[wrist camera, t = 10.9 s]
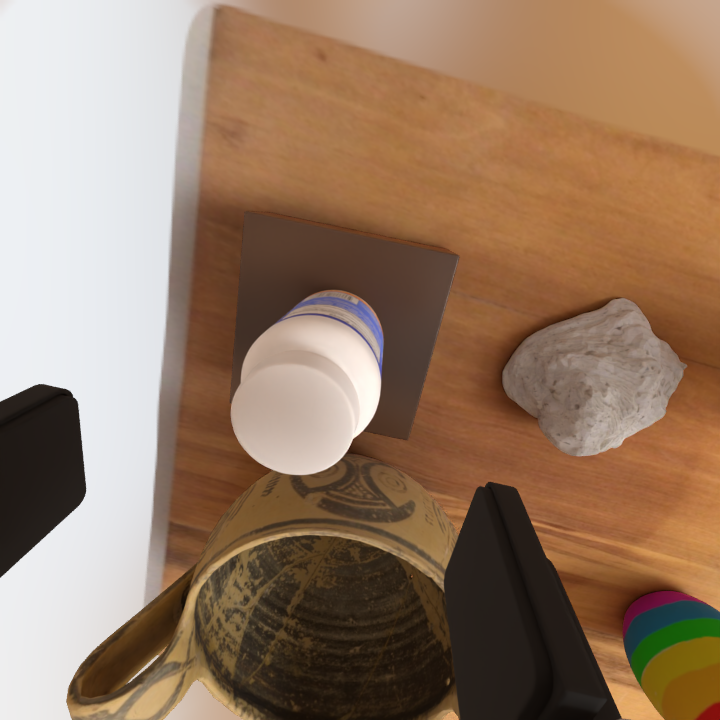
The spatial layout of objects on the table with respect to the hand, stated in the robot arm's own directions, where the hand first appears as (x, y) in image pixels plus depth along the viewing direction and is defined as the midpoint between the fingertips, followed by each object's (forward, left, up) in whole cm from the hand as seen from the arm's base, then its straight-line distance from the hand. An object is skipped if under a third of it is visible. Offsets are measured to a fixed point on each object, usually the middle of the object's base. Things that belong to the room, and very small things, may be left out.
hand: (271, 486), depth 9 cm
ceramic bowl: (+15, +3, -17) cm, 23 cm away
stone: (0, +16, -17) cm, 23 cm away
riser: (0, 0, -17) cm, 17 cm away
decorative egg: (+19, +30, -17) cm, 39 cm away
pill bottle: (0, 0, -13) cm, 13 cm away
